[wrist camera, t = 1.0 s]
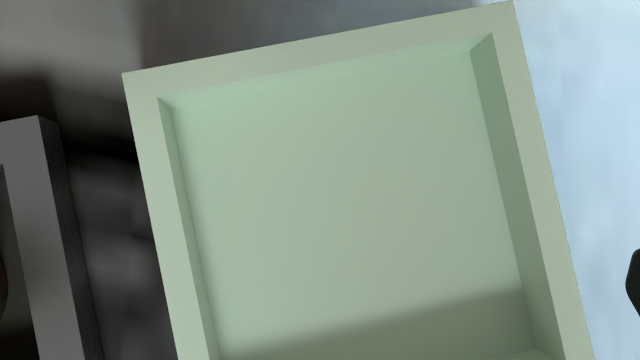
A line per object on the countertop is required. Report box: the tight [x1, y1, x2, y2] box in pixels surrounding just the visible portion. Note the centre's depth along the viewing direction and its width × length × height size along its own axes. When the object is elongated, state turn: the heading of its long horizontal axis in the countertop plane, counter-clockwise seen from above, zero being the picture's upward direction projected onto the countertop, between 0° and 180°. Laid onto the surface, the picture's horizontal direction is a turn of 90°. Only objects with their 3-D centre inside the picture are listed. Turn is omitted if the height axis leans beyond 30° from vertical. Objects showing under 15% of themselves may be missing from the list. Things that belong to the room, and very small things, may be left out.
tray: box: [121, 0, 594, 360], centre depth 22 cm, size 14×14×4 cm
